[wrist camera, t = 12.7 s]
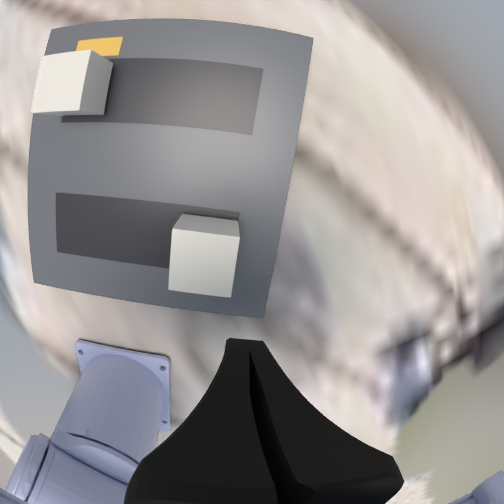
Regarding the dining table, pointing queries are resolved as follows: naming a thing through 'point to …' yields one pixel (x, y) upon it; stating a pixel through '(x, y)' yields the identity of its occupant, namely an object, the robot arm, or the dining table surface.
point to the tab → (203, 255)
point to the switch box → (168, 158)
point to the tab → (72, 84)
